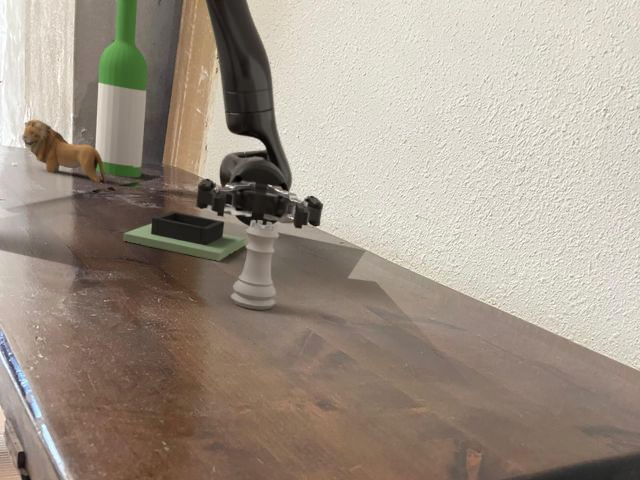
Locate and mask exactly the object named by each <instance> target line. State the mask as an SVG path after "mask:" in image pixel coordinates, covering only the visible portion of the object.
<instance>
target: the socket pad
mask: <svg viewBox="0 0 640 480" xmlns="http://www.w3.org/2000/svg"><path fill="white" fill-rule="evenodd" d="M224 227H225V222H224V221H222V220H217V219H212V218H207V217H202V216H198V215H192V214H188V213H184V212H178V211H174V210H172V211H169V212H166V213H163V214H159V215H156V216H153V217H152V218H151V223H149V224H146V225H143V226H140V227H138V228H135V229H132V230H129V231H126V232H123V242H125V241H127V242H126V243H130V242H131V243H130V244H134V243H135V245H139V244H140V245H139V246H144V247H149V248H152V249H153V248H154V249H159V250H164V251H167V252H173V253H177V254H182V255H187V256H191V257H192V256H193V257H196V258H202V259H206V260H210V259H211V261H215V260H216V262H220V261H221V260H223V259H225V258H227V257H228V256H230V255H231V254H233V253H235V252H236V251H238V250H240V249H242V248H243V247H245V245H246V238H245V237H241V236H236V235H231V234H228V233H227V234H226V233H224ZM234 251H235V252H234ZM229 254H230V255H229Z"/></svg>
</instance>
